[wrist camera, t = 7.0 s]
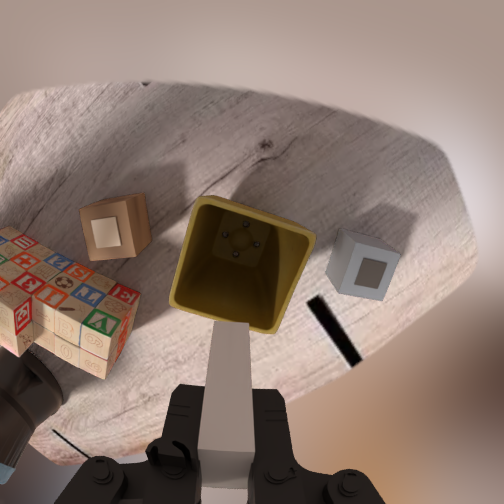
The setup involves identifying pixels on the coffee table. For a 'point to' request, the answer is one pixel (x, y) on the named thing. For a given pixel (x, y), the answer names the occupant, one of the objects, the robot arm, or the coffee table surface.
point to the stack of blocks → (61, 306)
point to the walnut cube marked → (116, 227)
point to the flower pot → (239, 264)
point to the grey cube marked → (361, 265)
